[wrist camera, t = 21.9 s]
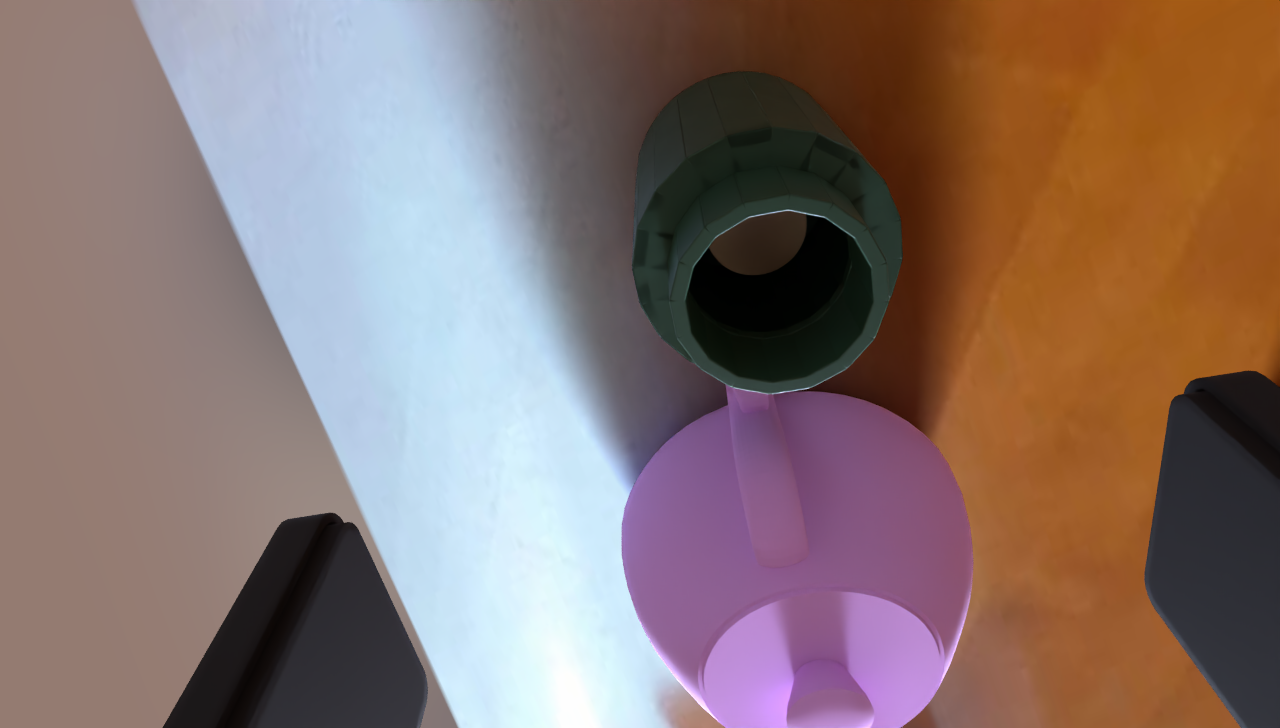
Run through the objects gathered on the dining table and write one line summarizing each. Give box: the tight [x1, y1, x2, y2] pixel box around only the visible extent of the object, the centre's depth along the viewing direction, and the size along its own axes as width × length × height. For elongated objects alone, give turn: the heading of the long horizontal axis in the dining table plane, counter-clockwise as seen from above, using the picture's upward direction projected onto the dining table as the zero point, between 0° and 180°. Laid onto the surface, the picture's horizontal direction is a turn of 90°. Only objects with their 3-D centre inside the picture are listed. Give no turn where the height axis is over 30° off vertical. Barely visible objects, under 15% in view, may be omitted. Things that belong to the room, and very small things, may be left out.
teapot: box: [622, 385, 973, 728], centre depth 40 cm, size 25×18×14 cm
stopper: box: [709, 210, 807, 275], centre depth 33 cm, size 4×4×6 cm
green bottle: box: [632, 71, 903, 394], centre depth 31 cm, size 9×9×13 cm
